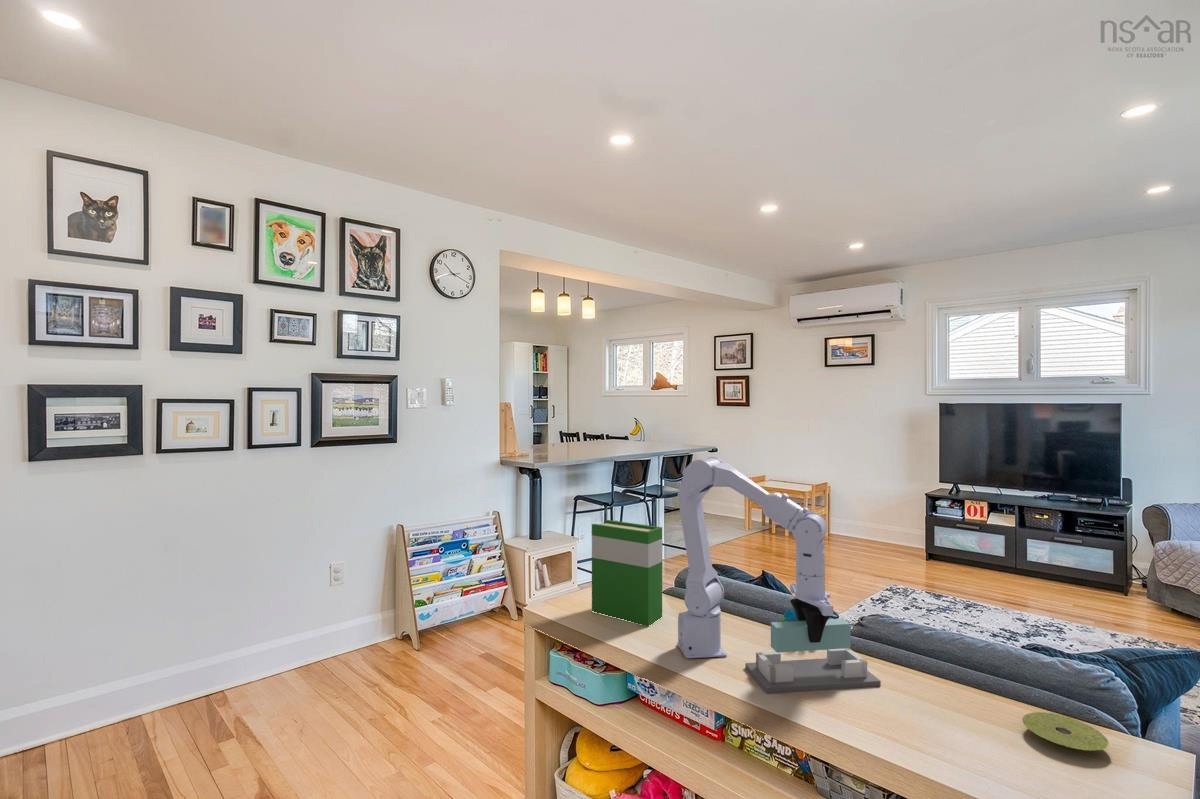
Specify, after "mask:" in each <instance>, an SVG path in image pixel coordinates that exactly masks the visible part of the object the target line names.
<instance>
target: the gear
mask: <svg viewBox="0 0 1200 799" xmlns="http://www.w3.org/2000/svg"><path fill="white" fill-rule="evenodd" d="M788 621H798V619H797V616H796V613H795V610H794V609H791V610H790V609H788V608H787V609H786V610H785V611H784V612H783V616H782V617H781V620H780V622H788Z"/></svg>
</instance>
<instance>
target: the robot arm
mask: <svg viewBox="0 0 1200 799" xmlns="http://www.w3.org/2000/svg"><path fill="white" fill-rule="evenodd" d="M682 475H683V476H682V479H681V482H680V485H679V488H678V491H677V499H678V508H679V513H680V519H681V525H682V527H681V528H682V532H683V540H684V544H685V552H686V558H687V564H688V573H687V577H686V580H685V594H684V601H683V602H684V605H685V606H686V607H685V608H687V610H686V611H681V612H679V613H678V618H677V638H678V639H677V644H676V645H677V646H678V647H679V649H680V651H681V653H683V656H684V657H685V658H686V659H701V658H715V657H716V658H718V657H719V658H720V657H721V658H722V657H727V656H728V654H727V652H726V651H725V649H724V648H723V647H722V645H721V643H722V642H721V638H722V637H721V634H722V633H721V630H722V629H721V628H722V627H721V626H722V624H721V621H722V619H721V617H722V616H721V613H722V611H721V607H720V603H722V602H723V600H724V598H725V589H724V586H723V584H722V583H721V581H720V580H719V574H718V572H717V571H716V569H715V568H714V567H713V565H712V564H713V562H712V557H711V552H710V551H711V550H710V544H709V539H708V530H707V527H706V519H705V514H704V508H703V506H704V505H703V501H702V500H703V498H704V497H705V496H706V494H707V493H708V492H710V489H712V488H713V487H714V488H730V489H733V490H734V491H735V492H737V493H739V494H740V495H742V496H744V497H746V498H747V499H749V500H751V501H752V502H754V503H755V504H757V505H759V506H760V507H761V509H762V513H763V515H764V516H766V517H767V518H769V519H770V520H771V521H773V522H774V523H775V524H778V525H780V526H781V527H782V528H783V529H785V530H786V531H788V532H790V533H791V532H792V537H793V538H794V539H795V541H796V549H795V583H794V582H793V583H792V582H790V587H789V589H790V591H789V592H790V593H791V594H794V597H795V598H792V599H790V604H791V605H792V608H793V610H795V613H796V616H797V619H798V621H806V623H807V629H808V637H809V641H810V642H811V643H816V642H820V641H821V638H822V634H823V630H824V627H825V625H826V622H827V620H828V619H830V617H831V616H832V617H833V616H834V605H833V604H832V603H831V602H830V600H829V598H831V593H829V592H827V591H826V551H825V546H826V545H825V538H824V537H826V534H827V532H828V524H827V521H826V520H825V519H824V518H823V516H821V515H820V513H818V512H815V511H810V509H809V508H807V507H806V506H805V507H802V506H800V505H799V504H798V503H796V502H794V501H792V500H791V499H789V498H790V495H789V494H787V493H786V492H785V493H782V494H781V493H780V492H773V493H770V492H768V491H767V490H765V489H764V488H763V487H761V485H758V484H757V483H756V482H754V481H753V480H752V479H750V478H749V477H747V476H746V475H745V474H743V473H742V472H740V471H739V470H737V469H736V468H735V467H734V466H732V465H731V464H730V463H727V462H726V461H723V460H721V458H719V457H715V456H710V457H707V458H704V459H696V460H693V461H691V462H689V464H688V465H687V466H686V467H684V469H683V470H682Z"/></svg>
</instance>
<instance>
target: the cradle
mask: <svg viewBox="0 0 1200 799" xmlns="http://www.w3.org/2000/svg"><path fill="white" fill-rule="evenodd" d="M781 655H782V654H781V652H779V653H777V652H776V651H764V652H756V653H755V662H746V663H745V667H744V668H745V670H746V671H747V672H748V673H749V674H750V676H752V677H753V679H754V680H755V681H756V682H757V683H758V685H759V686H760V687H761V689H762V690H763V691H764V692H765V693H766V694H778V693H791V692H792V693H794V692H806V691H807V692H809V691H823V690H822V689H826V690H837V689H836V688H840V689H854V688H855V689H856V688H867V687H880V686H881V684H882V682H881V680H880V679H879V678H877V676H876V675H874V673H871V672H870V671H869V670H868V661H867V660H866V659H864V658H863V657H861V656H860V655H859V654H857V653H856V652H855V651H854V650H852V649H851V648H845V649H829V650H826V658H809V659H808V658H807V659H795V660H794V659H793V660H791V659H790V660H782V658H781Z"/></svg>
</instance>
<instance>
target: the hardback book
mask: <svg viewBox="0 0 1200 799" xmlns="http://www.w3.org/2000/svg"><path fill="white" fill-rule="evenodd" d="M592 611H594V612H597V613H601V614H605V615H608V616H612V617H616V618H620V619H624V620H627V621H631V622H634V623H638V624H642V625H646V626H649V625H651V624H652V625H654V624H655V623H656V622H655V621H657V620H658V619H660V618H661V617H662V618H663V526H654V525H647V524H641V523H640V524H639V523H634V522H625V521H618V520H610V519H605V520H604V523H602V524H600V523H591V612H592ZM660 620H661V619H660ZM654 622H655V623H654ZM657 622H658V621H657ZM634 623H633V624H634ZM653 623H654V624H653ZM638 624H637V625H638ZM642 625H641V626H642ZM652 625H651V626H652ZM646 626H645V627H646ZM649 627H650V626H649Z"/></svg>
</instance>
